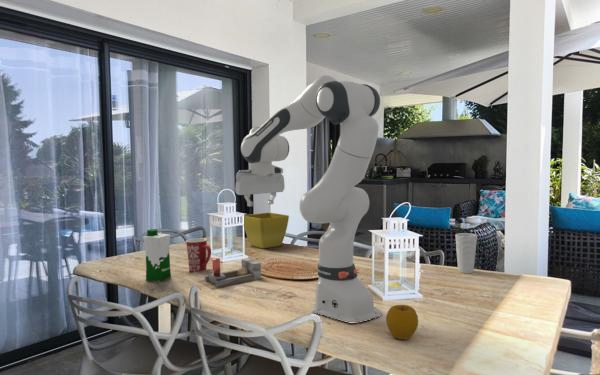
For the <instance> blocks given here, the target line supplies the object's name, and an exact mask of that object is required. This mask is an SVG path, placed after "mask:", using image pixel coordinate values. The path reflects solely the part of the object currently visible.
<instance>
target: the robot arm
mask: <svg viewBox="0 0 600 375" xmlns="http://www.w3.org/2000/svg"><path fill="white" fill-rule="evenodd" d="M380 105H381V97H380V94H379V92H378V90H377V89H375V88H374V87H373V86H371V85H368V84H366V83H365V84H364V83H358V82H353V81H348V80H347V81H346V80H345V81H338V80H337V79H336V78H334V77H333V76H330V75H327V74H326V75H321V76H319V77H317V78H316V79H315V80H314V81H312V82H311V83H310V84H309V85H308V86H307V87H305V89H304V90H303V91H302V92H301V93H299V95H298V96H297V97H296V98H295V99H294V100H293V101H292V102H291V103H289V104H287V105H286V106H284V107H282V108H280V110H278V111H276V112H275V113H274V114H273V115H272V116H270V118H268V119H267V120H266V121H265V122H264V123H263V124H261V126H255V127H253V128H251V129H250V131H249V134H247V135H246V136H244V138H243V139H242V141H241V143H240V147H239V148H240V154H241V155H242V157H243V159H245V161H246V162H248V169H241V170H238V172H237V173H236V174H235V181H236V182H235V193H236V194H237V195H239V196H243V198H244V199H245V201H246V203H247V204H246V206H247V207H253V206H254V201H251V195H260V194H270V198H269V199H267V202H268V203H267V204H268V205H274V203H275V202H274V201H275V198H276V196H277V193H283V192H284V191H285V178H284V175H283V173H284V169H283V168H282V167H280V166H277V165H274V164H272V163H273V162H280V161H284V160H287V157H288V156H289V153H290V144H289V141H288V139H287V138H286V137H285V136H282V134H283V133H287V132H291V131H298V130H306V129H312V128H314V127H315V126H317V125H319V124H320V123H322V121H324V119H325V118H327V119H328V120H329V121H330V123H331V124H333V125H339V124H340V127H341V129H340V130H341V131H340V135H339V138H338V140H337V144H336V147H335V149H334V152H333V155H332V158H331V161H330V162H329V163H330V164H329V166H328V167H327V169H326V170H325V172H324V174H323V175H322V176H321V178H320V179H319V180H318V182H317V183H316V184H315V185H314V186H313V187H312V188H310V189H309V190H308V191H306V192H305V193H303V195H302V196H301V198H300V201H299V212H300V214H301V216H302V218H303V219H304V220H305V221H306V222H308V223H311V224H312V223H313V224H319V225H320V224H329V225H328V227H327V229H326V231H325V232H324V234H322V235H321V236H320V238H319V241H318V263H317V269H316V270H317V275H318V279H317V284H316V289H315V297H314V298H315V300H314V307H313V308H312V313H313V314H316V315H319V314H320V315H319V316H322V315H325V316H328V317H332V318H336V319H340V320H343V321H347V322H360V321H365V320H369V319H372V318H375V317H378V316H379V315H380V314H381V313H382V310H381V309H379V308H377V307H375V304H374V298H373V295H372V293H371V291H370V290H369V289H368V288H367V287H366V286H365V285H364V283H363V282H362V281H361V280H360V279H359V277H358V273H360V268H357V269H356V265H355V263H354V243H355V242H354V241H355V236H356V234H357V229H358V226H359V224H360V223H361V220H362V218H363V217H364V216H365V215H366V214H367V213H368V211H369V208H370V198H369V194H368V192H366V191H365V189H364V188H361V187H356V185H358V184H359V183H361V182H362V180H364V178H365V175H366V173H367V171H368V168H369V165H370V162H371V161H372V160H371V159H372V157H373V154H374V151H375V148H376V145H377V140H378V135H379V124H378V122H377V120H376V119H375V118H374V115H376V114H377V112H378V111H379V109H380ZM317 313H318V314H317ZM381 315H382V314H381ZM381 315H380V316H381ZM325 316H324V317H325ZM380 316H379V317H380ZM328 317H327V318H328ZM379 317H378V318H379ZM332 318H331V319H332ZM375 319H376V318H375Z"/></svg>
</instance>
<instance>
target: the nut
mask: <svg viewBox="0 0 600 375" xmlns="http://www.w3.org/2000/svg"><path fill="white" fill-rule="evenodd" d="M237 270H238V275H239V276H243V275H247V274H248V271H247V269H246V268H244V267H242V266H241V267H239V269H237Z"/></svg>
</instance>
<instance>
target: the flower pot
mask: <svg viewBox="0 0 600 375" xmlns="http://www.w3.org/2000/svg"><path fill="white" fill-rule="evenodd" d="M289 218H290V215H288V214H280V213H277V212H262V213H254V214H253V213H252V214H244V224H243V227H244V231H245V235H246V238H247V239H248V243H249V245H250V246H253V247H255V248H256V247H257V248H260V249H267V248H269V249H270V248H274V247H280V246H282V245H283V242H284V239H285V236H286V233H287V230H288V224H289Z"/></svg>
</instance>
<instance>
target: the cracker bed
mask: <svg viewBox="0 0 600 375" xmlns="http://www.w3.org/2000/svg"><path fill="white" fill-rule="evenodd" d="M242 267H244V268H246V269H247V271H248V274H247V275H243V276H239V275H238V270H239V269H234V270H230V271H224V272H220V273H221V274H223V275H225V276H226V279H223V280H218V281H215V285H214V284H212V283H211V282H209V281H208V274H207V275H204V279H202V280H201V279H200V280H197V282H198V283H200V284H201V285H203V286H204V287H206V288H208V289H210V290H211V291H215V290H219V289H224V288H228V287H232V286H237V285H242V284H246V283H252V282H255V281H256V282H257V281H261V280H265V278H264V277H262V269H261V268H262V266H261V262H259V261H257V260H254V259H251V258H248V257H247V258H242V259H241V268H242Z"/></svg>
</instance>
